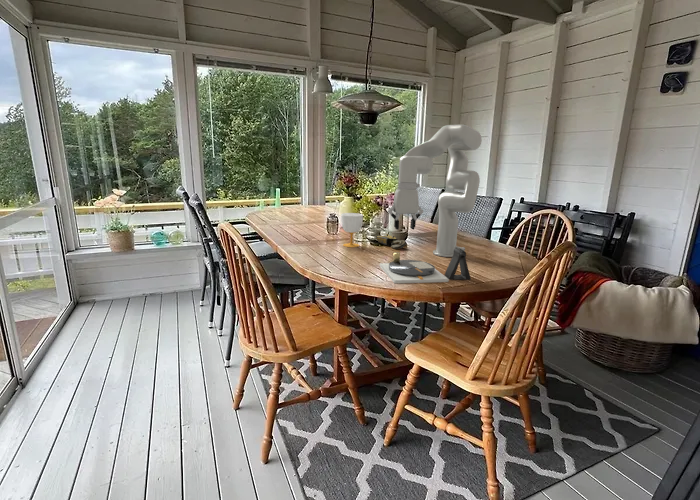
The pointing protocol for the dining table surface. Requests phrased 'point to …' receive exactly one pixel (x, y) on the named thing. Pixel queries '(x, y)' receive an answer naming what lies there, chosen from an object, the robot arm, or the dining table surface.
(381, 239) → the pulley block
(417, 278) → the base
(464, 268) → the dark grey a-frame stand
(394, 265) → the disc
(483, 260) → the dining table surface
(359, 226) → the cup
